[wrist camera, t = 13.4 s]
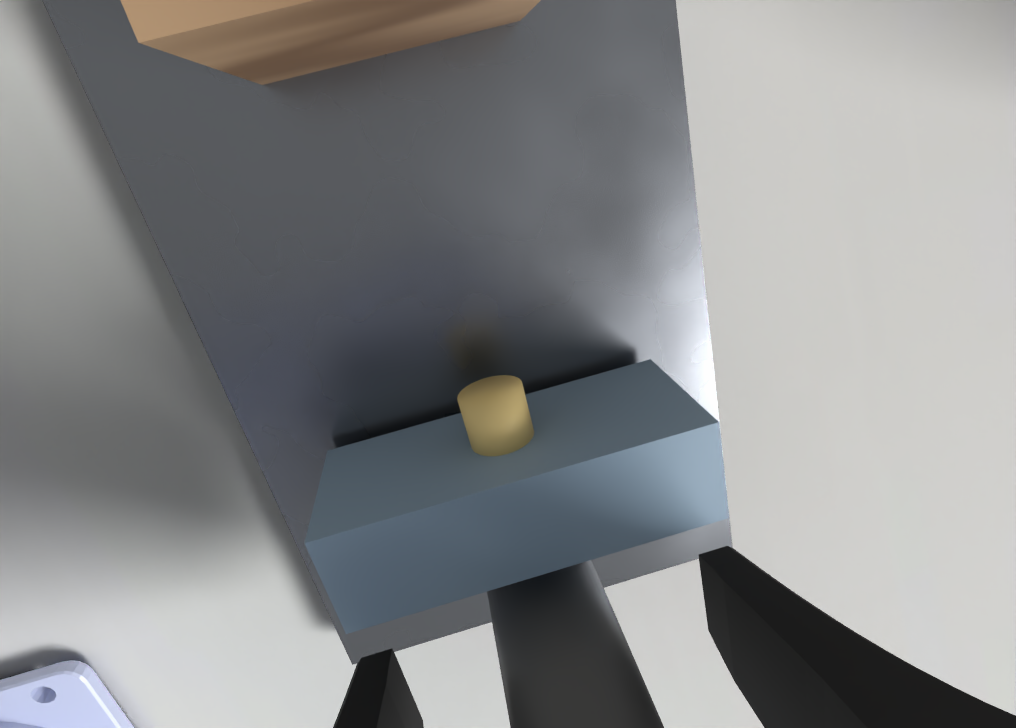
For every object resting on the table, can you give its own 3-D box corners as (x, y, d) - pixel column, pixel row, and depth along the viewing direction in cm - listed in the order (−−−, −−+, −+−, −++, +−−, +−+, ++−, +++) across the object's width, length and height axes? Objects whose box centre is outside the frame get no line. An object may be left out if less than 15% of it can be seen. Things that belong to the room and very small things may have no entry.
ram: (678, 549, 15) (863, 829, 9) (402, 633, 14) (399, 987, 8) (644, 314, 12) (865, 484, 6) (310, 408, 12) (214, 681, 6)
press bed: (714, 524, 16) (790, 621, 13) (355, 633, 16) (342, 763, 12) (584, -581, 9) (692, -1019, 5) (-134, -451, 8) (-504, -853, 5)
